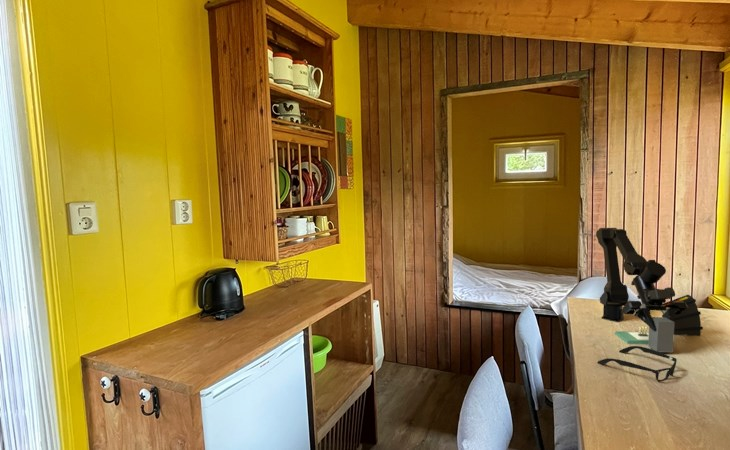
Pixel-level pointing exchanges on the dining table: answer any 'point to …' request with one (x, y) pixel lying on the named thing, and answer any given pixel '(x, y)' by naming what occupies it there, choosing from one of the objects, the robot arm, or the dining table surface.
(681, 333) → the magazine
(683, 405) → the dining table surface
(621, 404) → the dining table surface
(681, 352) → the dining table surface
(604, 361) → the glasses
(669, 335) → the block
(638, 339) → the board
